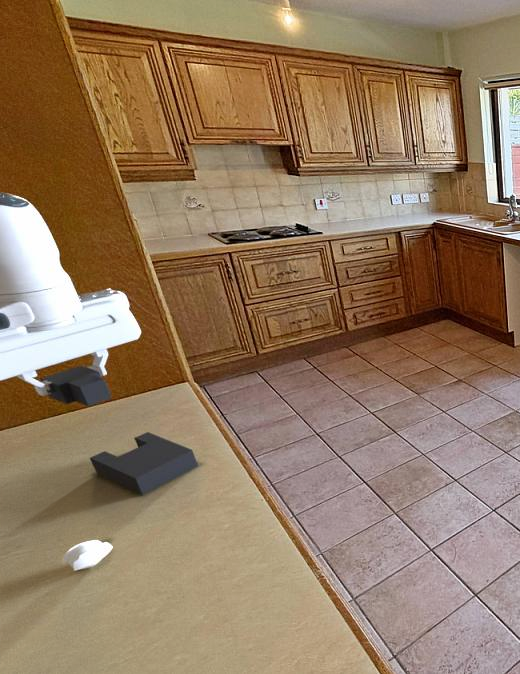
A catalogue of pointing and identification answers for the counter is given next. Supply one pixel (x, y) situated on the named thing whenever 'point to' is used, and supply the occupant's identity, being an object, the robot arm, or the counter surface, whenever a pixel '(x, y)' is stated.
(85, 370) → the pad
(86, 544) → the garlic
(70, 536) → the counter surface
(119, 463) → the base pad
